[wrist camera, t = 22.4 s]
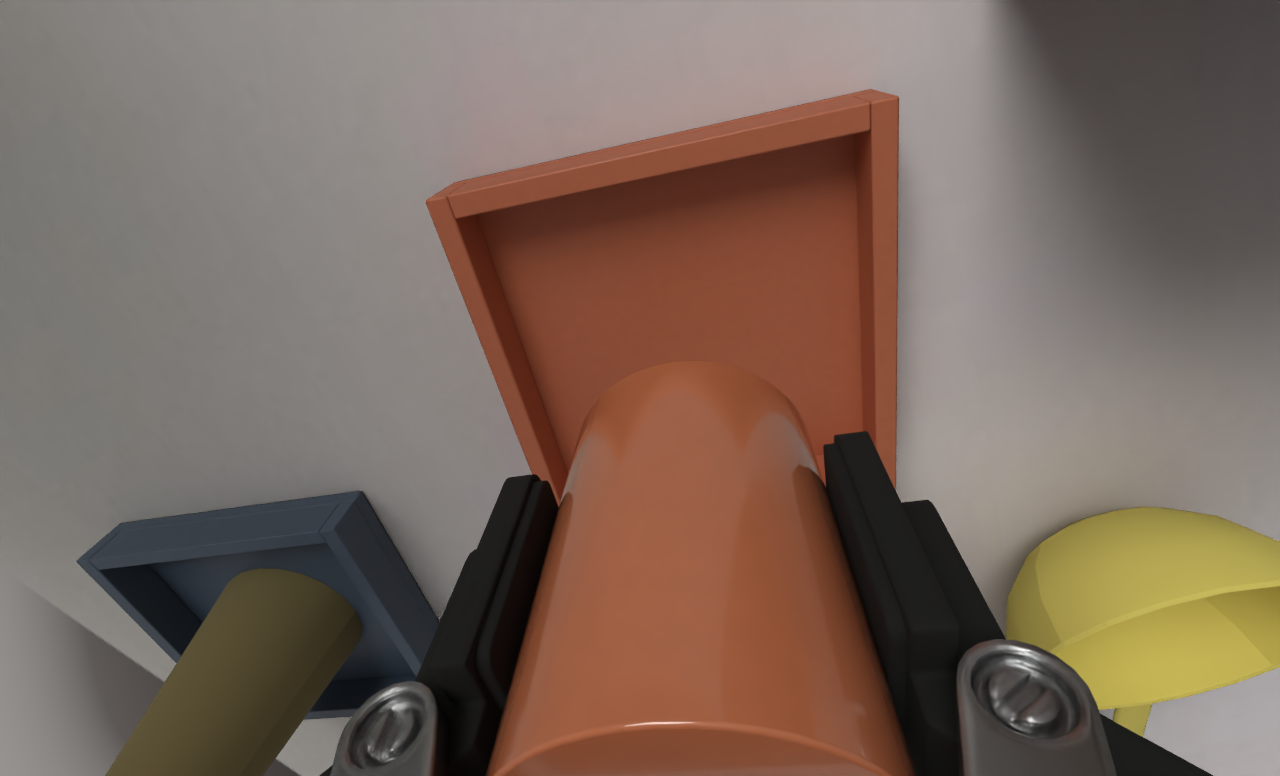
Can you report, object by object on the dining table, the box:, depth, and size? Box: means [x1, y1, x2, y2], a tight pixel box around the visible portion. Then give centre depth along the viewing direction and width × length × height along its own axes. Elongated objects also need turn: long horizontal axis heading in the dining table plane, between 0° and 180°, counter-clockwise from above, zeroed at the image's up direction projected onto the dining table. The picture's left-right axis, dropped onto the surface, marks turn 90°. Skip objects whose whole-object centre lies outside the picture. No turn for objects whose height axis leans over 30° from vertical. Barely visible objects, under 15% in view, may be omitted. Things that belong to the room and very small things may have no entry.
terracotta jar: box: [486, 361, 917, 776], centre depth 9 cm, size 5×5×7 cm
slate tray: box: [76, 491, 439, 720], centre depth 25 cm, size 11×11×2 cm
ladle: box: [1006, 507, 1280, 737], centre depth 24 cm, size 9×26×6 cm, turn 19°
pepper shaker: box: [105, 568, 362, 776], centre depth 21 cm, size 6×6×11 cm
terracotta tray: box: [426, 89, 899, 506], centre depth 17 cm, size 11×11×2 cm
